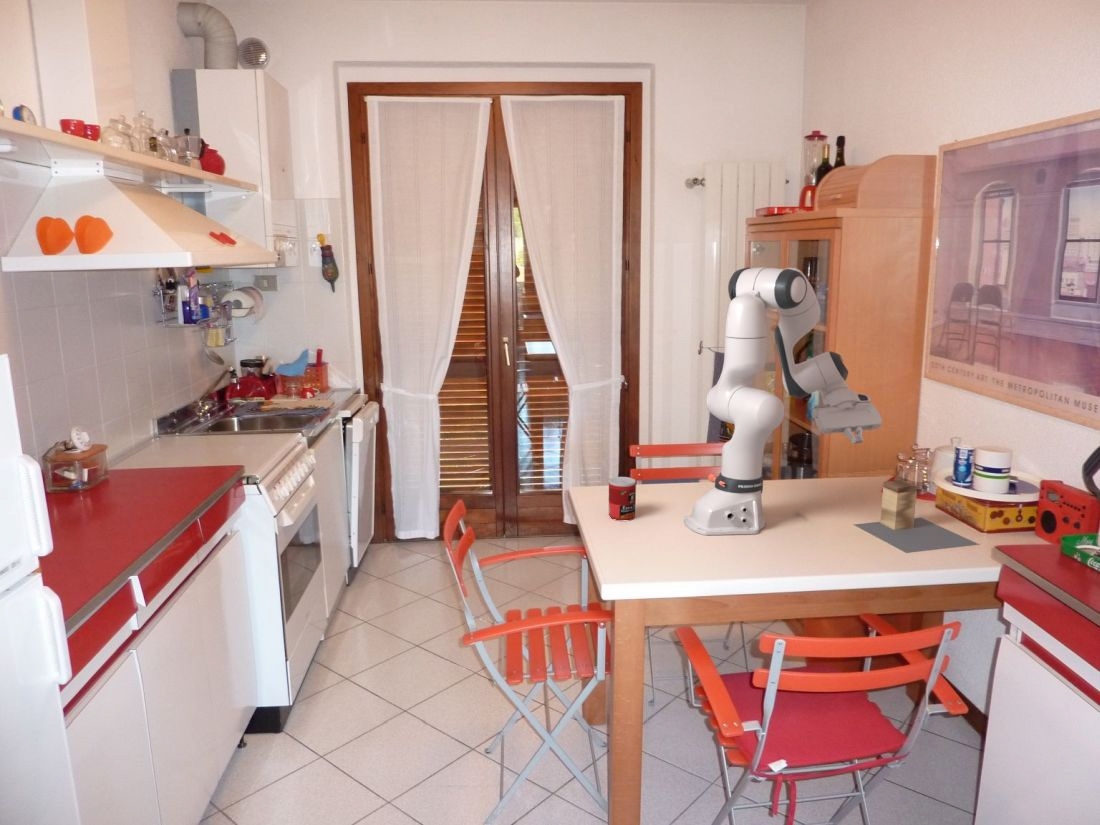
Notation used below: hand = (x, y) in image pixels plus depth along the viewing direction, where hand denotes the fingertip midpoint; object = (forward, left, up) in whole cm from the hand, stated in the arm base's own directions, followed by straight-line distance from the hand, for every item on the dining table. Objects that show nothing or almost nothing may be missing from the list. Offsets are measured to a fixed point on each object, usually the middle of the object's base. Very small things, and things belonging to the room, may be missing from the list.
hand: (858, 442), depth 236 cm
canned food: (-70, +9, -20) cm, 73 cm away
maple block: (0, -20, -19) cm, 27 cm away
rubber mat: (0, -27, -20) cm, 33 cm away
